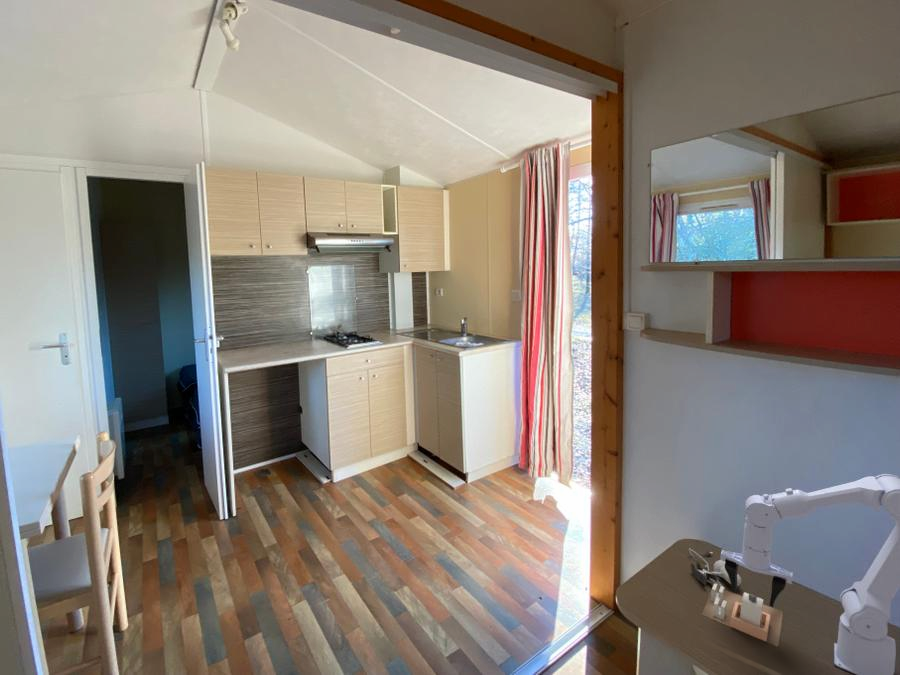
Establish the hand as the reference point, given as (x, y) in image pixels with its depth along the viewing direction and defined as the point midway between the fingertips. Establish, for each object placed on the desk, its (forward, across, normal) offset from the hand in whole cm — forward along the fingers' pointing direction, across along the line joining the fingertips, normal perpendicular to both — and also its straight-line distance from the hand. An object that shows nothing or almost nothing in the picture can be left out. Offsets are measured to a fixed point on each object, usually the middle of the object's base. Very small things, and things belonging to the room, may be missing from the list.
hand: (752, 597), depth 111 cm
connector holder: (+8, 0, 0) cm, 9 cm away
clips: (+8, +7, -2) cm, 11 cm away
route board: (+8, +2, -4) cm, 10 cm away
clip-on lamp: (+9, +12, -18) cm, 23 cm away
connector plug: (+8, 0, 0) cm, 8 cm away
